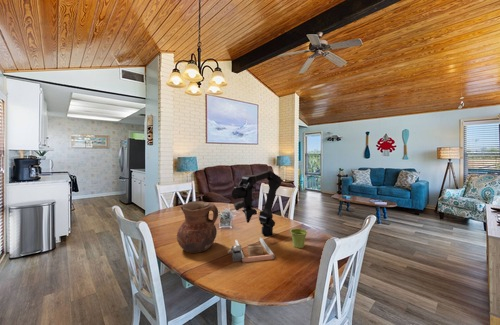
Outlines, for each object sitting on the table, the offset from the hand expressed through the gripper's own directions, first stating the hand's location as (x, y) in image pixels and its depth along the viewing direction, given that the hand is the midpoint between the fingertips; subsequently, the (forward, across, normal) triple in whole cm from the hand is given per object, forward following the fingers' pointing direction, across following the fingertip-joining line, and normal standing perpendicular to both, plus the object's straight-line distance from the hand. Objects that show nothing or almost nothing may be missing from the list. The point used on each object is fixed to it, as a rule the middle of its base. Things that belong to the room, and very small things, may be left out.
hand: (247, 222), depth 130 cm
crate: (+12, +16, 0) cm, 20 cm away
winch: (+12, +20, -12) cm, 26 cm away
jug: (+12, +1, -30) cm, 32 cm away
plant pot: (+12, +13, +27) cm, 32 cm away
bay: (+12, +12, 0) cm, 17 cm away
